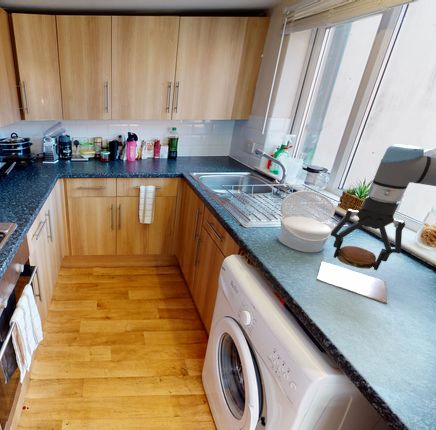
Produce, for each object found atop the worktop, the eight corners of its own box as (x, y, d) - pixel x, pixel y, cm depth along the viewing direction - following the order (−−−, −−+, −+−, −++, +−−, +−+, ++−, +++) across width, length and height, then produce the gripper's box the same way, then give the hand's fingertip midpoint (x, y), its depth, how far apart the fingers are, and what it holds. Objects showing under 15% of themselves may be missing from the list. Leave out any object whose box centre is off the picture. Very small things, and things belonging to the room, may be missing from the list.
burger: (329, 253, 98) (334, 242, 96) (356, 254, 98) (362, 243, 96) (351, 271, 89) (356, 258, 87) (380, 272, 89) (387, 259, 87)
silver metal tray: (384, 281, 96) (385, 280, 96) (386, 304, 86) (387, 303, 86) (321, 262, 106) (321, 261, 106) (316, 279, 96) (316, 278, 96)
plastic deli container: (277, 249, 114) (291, 202, 106) (269, 227, 131) (281, 186, 123) (335, 258, 108) (354, 210, 100) (319, 235, 126) (334, 192, 117)
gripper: (335, 193, 88) (312, 254, 97) (438, 213, 75) (401, 281, 85) (337, 187, 93) (315, 245, 103) (434, 205, 81) (399, 270, 90)
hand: (354, 261), depth 94 cm, fingers closed on burger, 10 cm apart
